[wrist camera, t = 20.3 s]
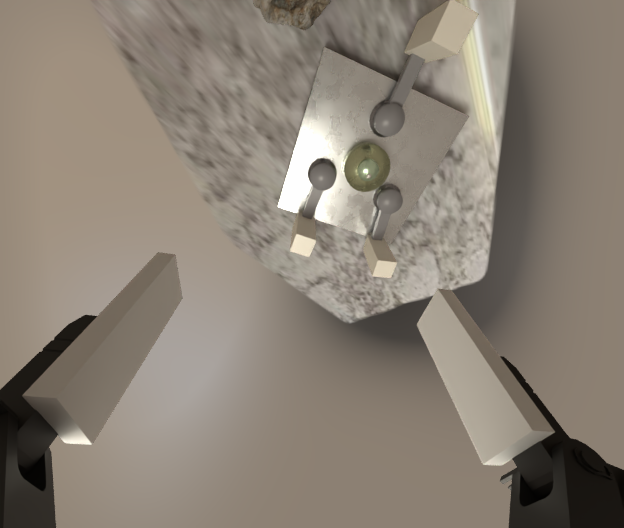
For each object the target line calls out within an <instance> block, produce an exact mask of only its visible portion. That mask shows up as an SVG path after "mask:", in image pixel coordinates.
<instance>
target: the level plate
mask: <svg viewBox="0 0 624 528" xmlns="http://www.w3.org/2000/svg"><path fill="white" fill-rule="evenodd" d="M396 84H397V81H395V80H393V79H391V78H388V77H386V76H384V75H382V74H380V73H378V72H376V71H374V70H372V69H370V68H368V67H365V66H363V65H361V64H359V63H357V62H355V61H353V60H351V59H349V58H347V57H345V56H342V55H340V54H338V53H336V52H334V51H332V50H330V49H328V48H326V47H324V50H323V53H322V57H321V60H320V64H319V67H318V70H317V74H316V77H315V81H314V84H313V88H312V91H311V94H310V98H309V101H308V105H307V108H306V111H305V115H304V118H303V122H302V125H301V129H300V132H299V135H298V139H297V142H296V146H295V149H294V152H293V156H292V159H291V163H290V166H289V170H288V173H287V176H286V180H285V183H284V187H283V190H282V193H281V197H280V200H279V204H278V207H279V208H283V209H286V210H289V211H292V212H295V213H298V212H301V213H302V212H303V210H304V207H305V204H306V202H307V199H308V196H309V194H310V191H311V189H312V186H313V185H312V184H311V181H310V172H311V169H312V167H313V166H314V165H315V164H317V163H319V162H327V163H329V164H330V165H331V166H332V167H333V169H334V172H335V175H336V180H335V183H334V185H333V186H332V187H331V188H330V189H328V190H325V191H323V193H322V195H321V198H320V200H319V203H318V205H317V208H316V210H315V212H314V215H313V217H315V219H316V220H319V221H322V222H325V223H328V224H331V225H334V226H338V227H341V228H344V229H347V230H350V231H353V232H356V233H359V234H362V235H365V236H367V235H369V236H372V233H373V229H374V226H375V223H376V220H377V216H378V213H379V210H380V209H379V207H378V206H377V203H376V197H377V195H378V193H379V192H380V191H381V190H382V189H384V188H387V187H392V188H395V189H396V190H397V191H398V192H399V193H400V194H401V195H402V198H403V204H402V206H401V208H400V209H399V210H398V211H397V212H395V213H393V214H391V216H390V219H389V222H388V225H387V228H386V231H385V233H384V236H383V237H384V239H385V241H386V243H389V244H391V243H392V241H393V240H394V238H395V237H396V235H397V233H398V232H399V230H400V228H401V227H402V225H403V223H404V222H405V220H406V219H407V217H408V215H409V214H410V212H411V210H412V209H413V207H414V205H415V204H416V202H417V201H418V199H419V197H420V196H421V194H422V192H423V191H424V189H425V188H426V186H427V184H428V183H429V181H430V179H431V178H432V176H433V174H434V173H435V171H436V170H437V168H438V166H439V165H440V163H441V161H442V160H443V158H444V156H445V155H446V153H447V152H448V150H449V148H450V147H451V145H452V143H453V142H454V140H455V138H456V137H457V135H458V134H459V132H460V130H461V129H462V127H463V125H464V124H465V122H466V121H467V119H468V117H469V116H468V115H466V114H464V113H462V112H460V111H457V110H455V109H453V108H451V107H449V106H447V105H445V104H443V103H441V102H439V101H437V100H434V99H432V98H430V97H428V96H426V95H424V94H422V93H420V92H418V91H416V90H414V89H411V90H410V92H409V94H408V97H407V99H406V101H405V103H404V105H403V107H402V108H403V110H404V113H405V122H404V125H403V127H402V128H401V130H400V131H399V132H398V133H397V134H395V135H393V136H389V137H388V136H383V135H381V134H380V133H378V132H377V131H376V130H375V128H374V126H373V117H374V114H375V112H376V111H377V109H378V108H379V107H380V106H382V105H383V104H386V103H388V102H389V100H390V98H391V95H392V93H393V91H394V89H395V86H396Z"/></svg>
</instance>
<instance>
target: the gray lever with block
mask: <svg viewBox="0 0 624 528" xmlns="http://www.w3.org/2000/svg"><path fill="white" fill-rule="evenodd" d="M478 15H479V14H478V13H476V12H475V11H473V10H471V9H469V8H468V7H466V6H464V5H463V4H461V3H459V2H457V1H456V0H448V1H446V2H445V3H443V4H442V5H440V6H439V7H437V8H436V9H434V10H433V11H431V12H430V13H428V14H427V15H425V16H424V17H422V18H421V19H419V20H418V22H417V24H416V26H415V29H414V31H413V33H412V35H411V38H410V40H409V42H408V45H407V47H406V49H405V52H404V53H406V54H408V55H409V57H408V59H407V62H406V64H405V66H404V68H403V71H402V73H401V75H400V77H399V80H398V82H397V84H396V86H395V89H394V91H393V93H392V95H391V98H390V100H389V102H388V103H386V104H383V105H382V106H380V107H379V108H378V109H377V111H376V112H375V114H374V117H373V126H374V128H375V130H376V131H377V132H378V133H380V134H381V135H383V136H388V137H389V136H393V135H395V134H397V133H398V132H399V131H400V130H401V128H402V127H403V125H404V122H405V113H404V110H403V108H402V107H403V105H404V103H405V101H406V99H407V97H408V94H409V92H410V90H411V88H412V86H413V84H414V82H415V80H416V78H417V76H418V73H419V71H420V69H421V67H422V65H423V63H428V62H431V61H435V60H439V59H443V58H446V57H450V56H454V55H458V53H459V51H460V49H461V47H462V45H463V43H464V41H465V39H466V37H467V36H468V34H469V32H470V30H471V28H472V26H473V24H474V22H475V20H476V19H477V17H478Z"/></svg>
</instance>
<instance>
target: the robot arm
mask: <svg viewBox="0 0 624 528" xmlns="http://www.w3.org/2000/svg"><path fill="white" fill-rule="evenodd" d="M181 300H182V293H181V287H180V280H179V274H178V268H177V262H176V255H175V254H167V253H159V252H158V253H157V254H156V255H155V256H154V257H153V258H152V259H151V260H150V261H149V262H148V263H147V265H146V266H145V267H144V268H143V269H142V270H141V271H140V272H139V273H138V274H137V275H136V276H135V277H134V278H133V279H132V280H131V282H129V284H128V285H127V286H126V287H125V288H124V289H123V290H122V291H121V292H120V293H119V294H118V295H117V296H116V297H115V298H114V299H113V300H112V301H111V303H109V305H108V306H107V307H106V308H105V309H104V310H103V311H102V312H101V313H100V314H99V315H98V316H92V315H84V316H82V317H81V318H79V319H77V320H76V321H74V322H72V323H70V324H69V325H67V326H66V327H65V328H64V329H63V330H62V331H61V332H60V333H59V334H58V335H57V336H56V337H55V338H54V340H53V341H51V342H50V343H49V344H48V345H46V347H44V348H43V351H42V352H39V353H38V354H37V355H36V356H35V357H34V358H33V359H32V360H31V361H30V362H29V363H28V364H27V365H26V366H25V367H23V369H21V371H19V372H18V373H17V374H16V375H15V376H14V377H13V378H12V379H11V380H10V381H9V382H8V383H7V384H6V385H5V386H4V387H3V388H2V389H1V390H0V528H56V523H55V505H54V489H53V474H52V473H53V472H52V457H51V451H50V448H49V446H50V445H51V443H52V442H53V441H54V439H55V438H56V437H57V435H58V436H59V437H60V438H61V439H62V440H63V441H64V442H65V443H71V444H91V445H92V444H93V443H94V441H95V439H96V438H97V436H98V435H99V433H100V431H101V430H102V428H103V426H104V425H105V423H106V422H107V420H108V418H109V417H110V415H111V413H112V412H113V410H114V408H115V407H116V405H117V404H118V402H119V400H120V399H121V397H122V396H123V394H124V392H125V391H126V389H127V387H128V386H129V384H130V383H131V381H132V379H133V378H134V376H135V374H136V373H137V371H138V370H139V368H140V366H141V365H142V363H143V362H144V360H145V358H146V357H147V355H148V353H149V352H150V350H151V348H152V347H153V345H154V344H155V342H156V340H157V339H158V337H159V335H160V334H161V332H162V331H163V329H164V327H165V326H166V324H167V323H168V321H169V319H170V318H171V316H172V314H173V313H174V311H175V310H176V308H177V306H178V305H179V303H180V301H181ZM417 326H418V328H419V331H420V333H421V335H422V337H423V339H424V341H425V343H426V345H427V348H428V350H429V352H430V354H431V356H432V358H433V360H434V362H435V364H436V366H437V369H438V371H439V373H440V375H441V377H442V379H443V381H444V383H445V386H446V388H447V390H448V392H449V394H450V396H451V398H452V400H453V402H454V405H455V407H456V409H457V411H458V413H459V415H460V417H461V420H462V422H463V424H464V426H465V428H466V430H467V432H468V434H469V437H470V439H471V441H472V443H473V445H474V447H475V449H476V451H477V453H478V455H479V458H480V460H481V462H482V464H484V465H503V464H505V463H507V462H508V461H510V460H511V459H513V460H514V462H515V464H516V466H517V468H515V469H514V470H512V471H510V472H509V473H507V474H505V475H503V476H502V477H501V479H500V482H501V483H502V484H504V483H506V482H508V481H509V480H511V479H512V484H511V485H510V486H509V487H508V488H509V489H510V490H511V502H510V517H509V528H624V470H622V469H620V468H617V467H615V466H613V465H610V464H608V463H606V462H605V461H604V460H603V459H602V458H601V457H600V456H599V455H598V454H597V453H596V452H595V451H594V450H593V449H591V448H590V447H589V446H587V445H586V444H584V443H582V442H580V441H578V440H576V439H571V438H569V436H568V435H567V434H566V433H565V432H564V431H563V429H562V428H561V426H560V425H559V424H558V422H557V421H556V420H555V418H554V417H553V416H552V414H551V413H550V412H549V411H548V409H547V408H546V407H545V406H544V404H543V403H542V401H541V400H540V399H539V398H538V396H537V395H536V394H535V393H533V389H532V388H531V387H530V386H529V384H528V383H526V382H525V379H524V378H523V376H522V375H521V374H520V373H519V371H518V370H517V368H516V367H514V366H513V365H512V364H511V363H510V362H509V361H508V360H507V359H506V358H504V357H501V356H499V355H498V353H497V352H496V351H495V349H494V348H493V347H492V345H491V344H490V342H489V341H488V340H487V338H486V337H485V336H484V334H483V333H482V331H481V330H480V329H479V327H478V326H477V325H476V323H475V322H474V321H473V319H472V318H471V316H470V315H469V314H468V312H467V311H466V310H465V308H464V307H463V306H462V304H461V303H460V302H459V300H458V299H457V297H456V296H455V295H454V294H453V292H452V291H451V290H444V289H437V291H436V293H435V294H434V296H433V298H432V299H431V301H430V303H429V305H428V306H427V308H426V310H425V311H424V313H423V315H422V316H421V318H420V320H419V322H418V323H417Z"/></svg>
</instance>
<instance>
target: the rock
mask: <svg viewBox="0 0 624 528" xmlns="http://www.w3.org/2000/svg"><path fill="white" fill-rule="evenodd" d="M329 3H330V0H253V4H254V6H255V7H257V8H260V9H261V12H262V15H263V17H264V19H265V21H266V22H267V23H276V24H281V25H284V24H285V25H286V24H287V23H288V24H289V25H290V26H291V25H293V26H296V27H298V28H300V29H303V30H306V29H308V28H309V27H311V26H312V25H313V23H314V21H315V19H316V18H317V17H318V16H319V15H320V14H321V12H322V11H323V10H324V9H325V7H326V6H327V5H328V4H329Z"/></svg>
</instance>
